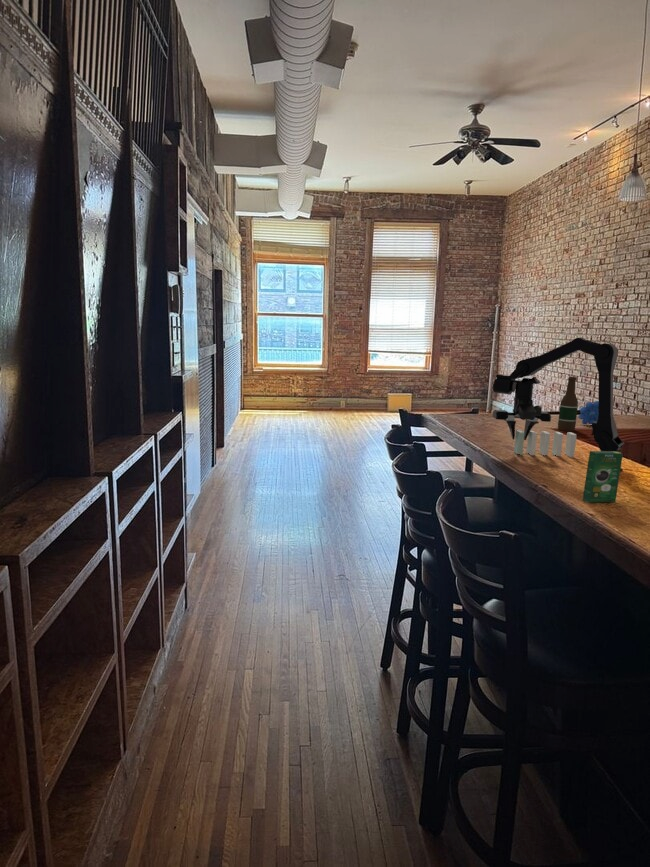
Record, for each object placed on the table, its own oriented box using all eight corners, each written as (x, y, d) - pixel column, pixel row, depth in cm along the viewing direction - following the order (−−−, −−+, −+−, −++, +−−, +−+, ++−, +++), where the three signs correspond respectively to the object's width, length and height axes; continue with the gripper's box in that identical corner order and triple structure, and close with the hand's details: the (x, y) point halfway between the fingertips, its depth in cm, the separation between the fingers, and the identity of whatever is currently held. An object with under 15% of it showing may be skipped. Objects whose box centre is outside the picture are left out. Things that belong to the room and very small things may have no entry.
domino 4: (560, 456, 191) (563, 434, 190) (556, 456, 191) (558, 434, 190) (556, 453, 196) (558, 431, 194) (551, 453, 196) (554, 431, 194)
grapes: (604, 425, 264) (607, 400, 262) (604, 427, 258) (607, 402, 256) (577, 422, 269) (580, 398, 267) (577, 424, 263) (580, 400, 261)
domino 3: (547, 456, 191) (550, 433, 190) (543, 455, 191) (545, 433, 190) (543, 453, 196) (545, 431, 194) (538, 452, 196) (541, 431, 194)
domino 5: (573, 457, 191) (576, 434, 189) (569, 457, 191) (572, 434, 189) (568, 454, 195) (571, 432, 194) (564, 454, 195) (567, 432, 194)
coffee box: (609, 499, 142) (615, 450, 140) (616, 502, 139) (624, 452, 137) (581, 500, 140) (588, 450, 138) (589, 503, 138) (595, 452, 135)
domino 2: (534, 455, 192) (537, 433, 190) (530, 455, 192) (532, 432, 190) (530, 452, 196) (533, 430, 195) (526, 452, 196) (528, 430, 195)
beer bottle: (553, 429, 248) (559, 376, 244) (561, 427, 253) (567, 375, 249) (570, 431, 243) (577, 377, 238) (578, 430, 248) (585, 377, 243)
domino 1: (513, 452, 196) (516, 430, 194) (518, 452, 196) (520, 430, 194) (517, 454, 191) (519, 432, 190) (522, 455, 191) (524, 432, 190)
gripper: (502, 397, 183) (498, 443, 186) (559, 399, 182) (553, 445, 185) (494, 393, 194) (490, 436, 197) (547, 395, 193) (542, 439, 196)
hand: (518, 439), depth 193 cm, fingers open, 4 cm apart
